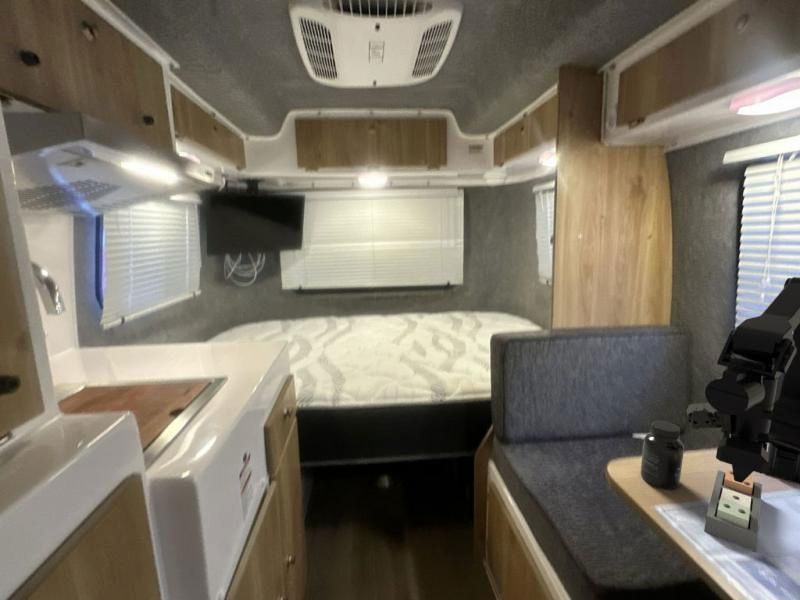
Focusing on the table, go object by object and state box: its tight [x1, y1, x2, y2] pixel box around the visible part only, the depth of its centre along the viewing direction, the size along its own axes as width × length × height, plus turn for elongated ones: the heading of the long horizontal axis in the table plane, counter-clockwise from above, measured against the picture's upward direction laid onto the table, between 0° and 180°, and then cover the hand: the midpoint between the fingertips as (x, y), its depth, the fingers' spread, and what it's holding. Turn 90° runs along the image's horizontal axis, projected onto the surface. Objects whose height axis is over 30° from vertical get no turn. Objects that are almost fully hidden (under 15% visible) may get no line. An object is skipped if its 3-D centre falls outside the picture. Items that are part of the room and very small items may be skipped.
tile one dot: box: [721, 488, 751, 508], centre depth 73 cm, size 4×4×3 cm
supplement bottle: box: [640, 420, 685, 490], centre depth 82 cm, size 7×7×12 cm
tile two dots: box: [717, 498, 750, 529], centre depth 68 cm, size 4×4×3 cm
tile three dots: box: [724, 468, 755, 495], centre depth 76 cm, size 4×4×3 cm
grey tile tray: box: [704, 470, 763, 552], centre depth 73 cm, size 17×7×3 cm, turn 137°
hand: (738, 480), depth 72 cm, fingers closed
